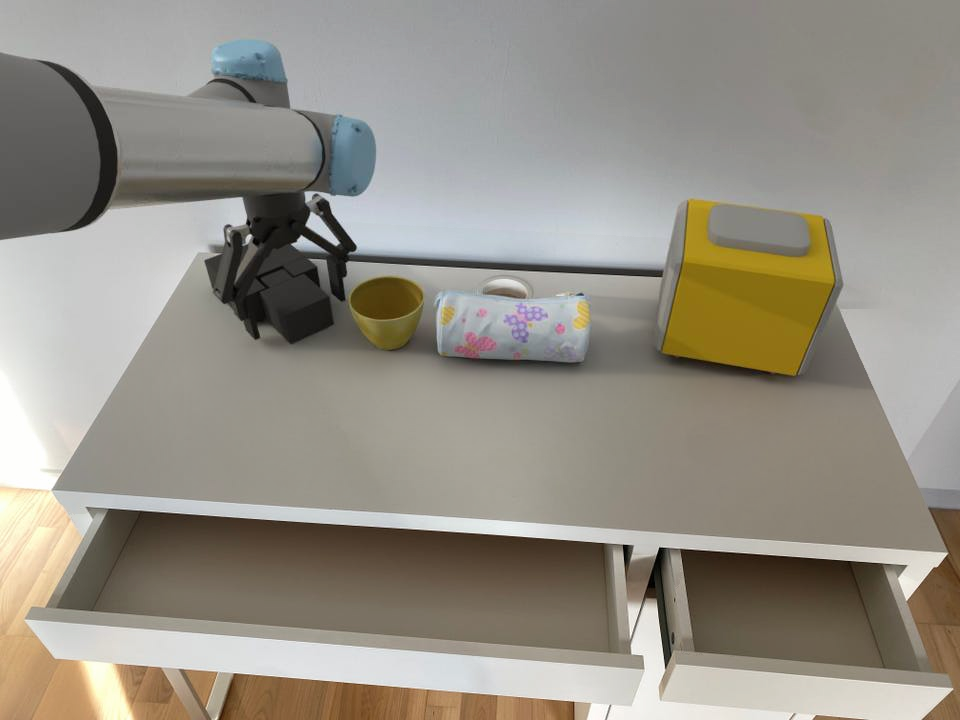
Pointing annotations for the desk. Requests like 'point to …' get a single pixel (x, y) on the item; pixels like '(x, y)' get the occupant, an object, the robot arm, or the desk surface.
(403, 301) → the flower pot
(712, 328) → the alarm clock
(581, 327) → the pencil case
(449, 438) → the desk surface
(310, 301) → the tab pad
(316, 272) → the notch pad
